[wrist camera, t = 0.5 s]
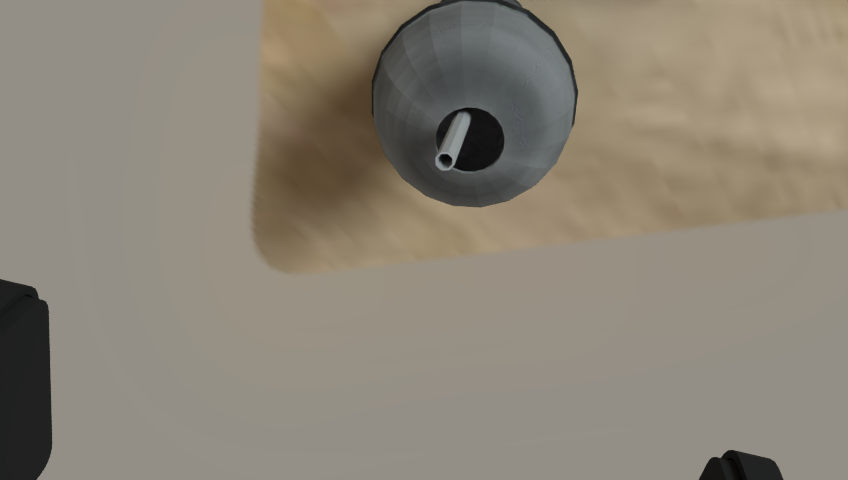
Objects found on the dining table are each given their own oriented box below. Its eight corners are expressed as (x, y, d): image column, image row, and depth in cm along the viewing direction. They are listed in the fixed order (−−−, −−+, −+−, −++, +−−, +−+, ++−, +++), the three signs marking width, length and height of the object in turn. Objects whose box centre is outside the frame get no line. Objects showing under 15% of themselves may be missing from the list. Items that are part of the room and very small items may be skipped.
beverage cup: (442, 127, 40) (400, 356, 22) (378, -6, 37) (270, 132, 19) (577, 70, 38) (650, 268, 20) (520, -76, 35) (546, 6, 17)
